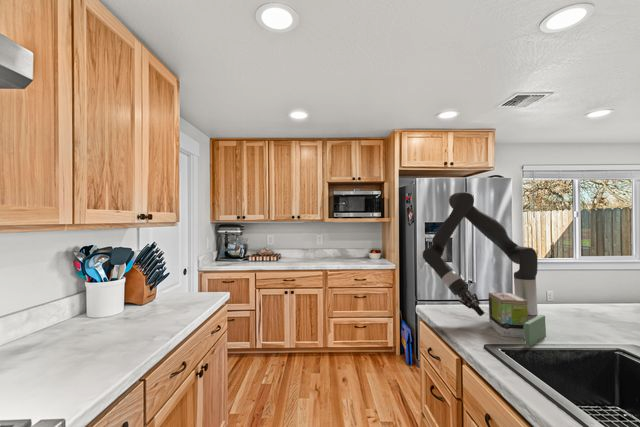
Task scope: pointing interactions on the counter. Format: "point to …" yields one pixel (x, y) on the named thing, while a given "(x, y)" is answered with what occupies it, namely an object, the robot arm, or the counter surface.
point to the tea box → (508, 314)
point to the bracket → (534, 330)
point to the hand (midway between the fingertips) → (482, 314)
